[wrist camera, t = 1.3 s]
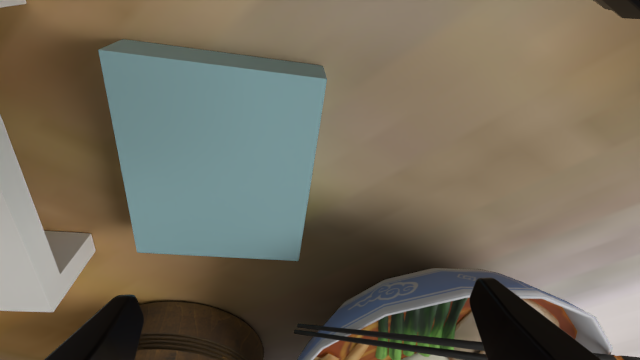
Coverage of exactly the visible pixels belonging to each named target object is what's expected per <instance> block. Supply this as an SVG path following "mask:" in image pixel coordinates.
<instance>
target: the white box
mask: <svg viewBox="0 0 640 360" xmlns="http://www.w3.org/2000/svg"><path fill="white" fill-rule="evenodd" d="M22 4H27V3H26V0H0V8H1V7H8V6H15V5H22ZM95 251H96V250H95V246H94V243H93V239H92V235H91V233H74V232H57V231H44V230H43V227H42V225H41V222H40V219H39V217H38V214H37V211H36V209H35V206H34V203H33V201H32V198H31V195H30V192H29V190H28V187H27V184H26V182H25V179H24V176H23V174H22V171H21V168H20V166H19V163H18V160H17V158H16V155H15V152H14V150H13V147H12V144H11V142H10V139H9V136H8V134H7V131H6V128H5V126H4V123H3V120H2V118H1V115H0V311H26V312H54V311H55V309H56V308H57V306H58V305H59V303H60V302H61V300H62V299H63V298H64V296H65V295H66V293H67V292H68V290H69V289H70V287H71V286H72V284H73V283H74V282H75V280H76V279H77V277H78V276H79V274H80V273H81V271H82V270H83V269H84V267H85V266H86V264H87V263H88V261H89V260H90V258H91V257H92V255H93V254H94V253H95Z"/></svg>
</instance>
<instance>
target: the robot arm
mask: <svg viewBox="0 0 640 360" xmlns="http://www.w3.org/2000/svg"><path fill="white" fill-rule="evenodd" d="M593 1H595V2H596V3H597V4H599V5H600V6H602V7H603V8H605V9H608V10H612V11H614V12H615V13H616V14H617V15H618V16H620V17H622V18H631V19H640V0H593ZM469 302H470V307H471V310H472V313H473V317H474V320H475V323H476V326H477V329H478V332H479V335H480V338H481V341H482V344H483V347H484V350H485V353H486V356H487V359H488V360H601V359H600V358H599V357H597V356H596V355H595V354H593V353H592V352H591V351H589V350H588V349H587V348H586V347H584V346H583V345H582V344H580V343H579V342H578V341H576V340H575V339H574V338H572V337H571V336H570V335H568V334H567V333H566V332H565V331H563V330H562V329H561V328H559V327H558V326H557V325H555V324H554V323H553V322H551V321H550V320H549V319H547V318H546V317H545V316H544V315H542V314H541V313H540V312H538V311H537V310H536V309H534V308H533V307H532V306H530V305H529V304H528V303H526V302H525V301H524V300H522V299H521V298H520V297H519V296H517V295H516V294H515V293H513V292H512V291H511V290H509V289H508V288H507V287H505V286H504V285H503V284H501V283H500V282H499V281H498V280H496V279H494V278H491V277H489V278H478V279H477V280H476V282H475V285H474V287H473V290H472V292H471V295H470V299H469ZM143 323H144V315H143V312H142V310H141V308H140V305H139V303H138V301H137V298H136V297H135V296H134V295H118V296H116V297H114V298H113V299H112V300H111V301H110V302H108V303H107V304H106V305H105V306H104V307H103V308H102V309H101V310H99V311H98V312H97V313H96V314H95V315H94V316H93V317H92V318H90V319H89V320H88V321H87V322H86V323H85V324H84V325H83V326H82V327H80V328H79V329H78V330H77V331H76V332H75V333H74V334H73V335H71V336H70V337H69V338H68V339H67V340H66V341H65V342H64V343H62V344H61V345H60V346H59V347H58V348H57V349H56V350H55V351H53V352H52V353H51V354H50V355H49V356H48V357H47V358H46V359H45V360H135V356H136V352H137V347H138V343H139V339H140V335H141V331H142V327H143Z"/></svg>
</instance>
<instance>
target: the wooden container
mask: <svg viewBox="0 0 640 360" xmlns="http://www.w3.org/2000/svg"><path fill="white" fill-rule="evenodd" d="M140 308H141V310H142V312H143V315H144V323H143V327H142V331H141V335H140V339H139V343H138V347H137V352H136V356H135V360H263V357H264V351H263V346H262V343H261V341H260V339H259V337H258V335H257V334H256V333H255V331H254V330H253V329H252V328H251V327H250V326H249V325H247V324H246V323H245V322H244V321H242V320H241V319H239V318H237V317H235V316H234V315H232V314H229V313H227V312H225V311H222V310H219V309H216V308H213V307H209V306H205V305H201V304H195V303H188V302H176V301H165V302H153V303H146V304H141V305H140Z"/></svg>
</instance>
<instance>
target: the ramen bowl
mask: <svg viewBox="0 0 640 360" xmlns="http://www.w3.org/2000/svg"><path fill="white" fill-rule="evenodd" d="M489 277H491V278H494V279H496V280H498V281H499V282H500V283H501V284H503V285H504V286H505V287H507V288H508V289H509V290H511V291H512V292H513V293H515V294H516V295H517V296H519V297H520V298H521V299H522V300H524V301H525V302H526V303H528V304H529V305H530V306H532V307H533V308H534V309H536V310H537V311H538V312H540V313H541V314H542V315H544V316H545V317H546V318H547V319H549V320H550V321H551V322H553V323H554V324H555V325H557V326H558V327H559V328H561V329H562V330H563V331H565V332H566V333H567V334H568V335H570V336H571V337H572V338H574V339H575V340H576V341H578V342H579V343H580V344H582V345H583V346H584V347H586V348H587V349H588V350H589V351H591V352H592V353H593V354H595V355H596V356H597V357H599V358H600V359H601V360H640V358H639V357H629V356H615V355H610V354H611V352H612V349H613V348H612V346H611V344H610V342H609V341H608V339H607V337H606V335H605V333H604V331H603V330H602V328H601V326H600V324H599V322H598V321H597V319H596V317H595V316H593V315H591V314H589V313H587V312H585V311H583V310H582V309H580V308H578V307H576V306H574V305H572V304H570V303H569V302H567V301H565V300H562V299H560V298H558V297H555V296H553V295H551V294H548V293H546V292H544V291H541V290H539V289H537V288H534V287H532V286H530V285H528V284H525V283H523V282H521V281H518V280H515V279H513V278H510V277H507V276H505V275H502V274H499V273H495V272H491V271H486V270H481V269H448V268H432V269H428V270H423V271H419V272H415V273H411V274H406V275H402V276H398V277H394V278H389V279H385V280H383V281H381V282H379V283H378V284H376V285H374V286H372V287H370V288H369V289H367V290H365V291H363V292H362V293H360V294H358V295H356V296H354V297H353V298H351V299H349V300H347V301H345V302H344V303H343V304H342V305H341V307H340V308H339V309H338V310H337V311H336V312H335V313H334V314H333V315H332V317H331V318H330V319H329V320H328V321H327V322H326V323H325V324H324V326H317V325H307V324H298V325H297V327H299V328H307V329H315V330H319V331H318V332H317V333H316V332H308V331H300V330H294V333H295V334H301V335H308V336H314V337H313V338H312V339H311V340H310V341H309V342H308V344H307V345H306V347H305V348H304V350H303V351H302V353H301V354H300V356H299V357H298V359H297V360H488V359H487V356H486V353H485V350H484V347H483V344H482V341H481V338H480V335H479V332H478V329H477V326H476V323H475V320H474V317H473V313H472V310H471V307H470V302H469V299H470V295H471V292H472V290H473V287H474V285H475V282H476V280H477V279H478V278H489Z"/></svg>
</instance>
